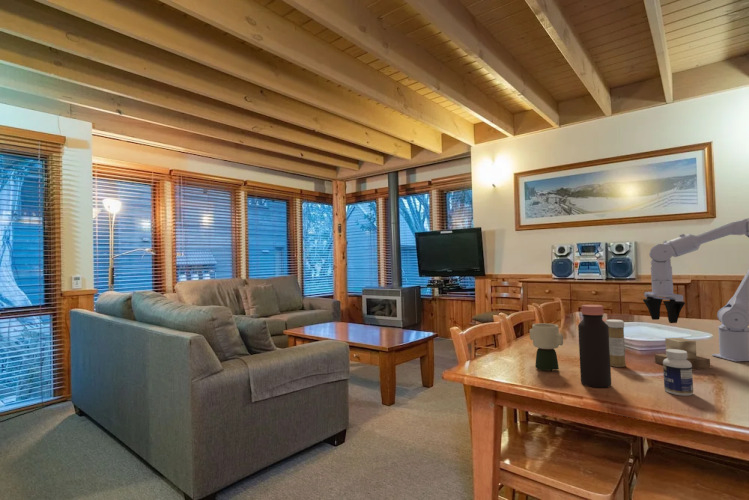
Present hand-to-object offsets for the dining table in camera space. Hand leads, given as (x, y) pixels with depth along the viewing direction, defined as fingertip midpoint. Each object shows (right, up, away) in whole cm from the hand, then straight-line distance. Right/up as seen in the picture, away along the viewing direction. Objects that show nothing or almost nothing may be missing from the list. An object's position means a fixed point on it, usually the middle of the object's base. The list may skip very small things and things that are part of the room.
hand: (664, 321), depth 130 cm
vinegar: (-40, -11, -30) cm, 51 cm away
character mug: (-46, -11, -16) cm, 50 cm away
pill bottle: (-25, -10, -38) cm, 46 cm away
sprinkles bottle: (-24, -11, -14) cm, 30 cm away
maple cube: (-7, -8, -16) cm, 19 cm away
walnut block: (-6, -11, -16) cm, 20 cm away
